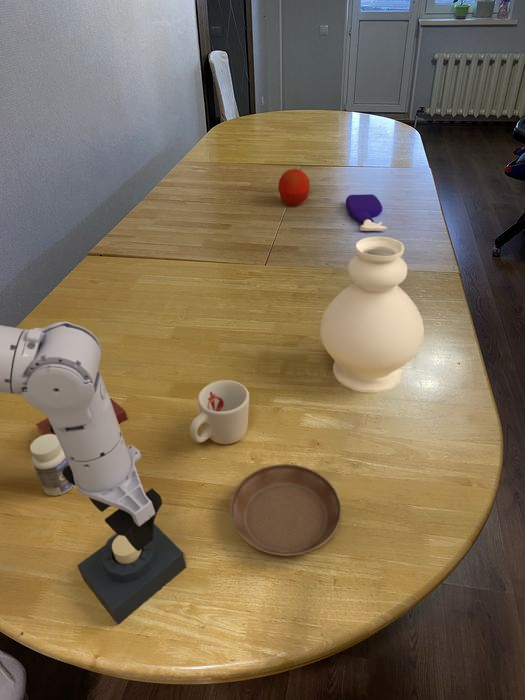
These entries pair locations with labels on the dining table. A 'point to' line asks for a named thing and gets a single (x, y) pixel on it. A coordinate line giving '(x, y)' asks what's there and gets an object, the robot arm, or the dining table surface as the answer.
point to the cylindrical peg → (124, 550)
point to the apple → (294, 187)
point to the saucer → (285, 509)
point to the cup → (222, 412)
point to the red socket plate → (46, 428)
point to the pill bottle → (50, 464)
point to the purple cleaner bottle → (365, 211)
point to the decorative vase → (373, 320)
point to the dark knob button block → (131, 574)
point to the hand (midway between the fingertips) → (125, 523)
